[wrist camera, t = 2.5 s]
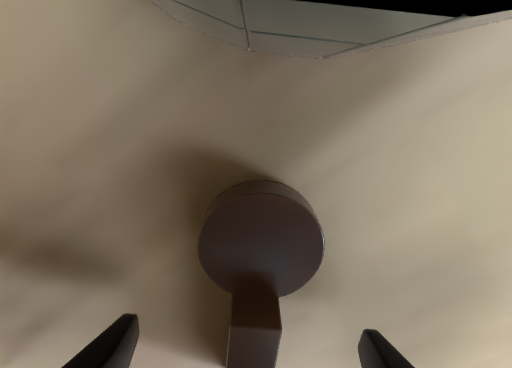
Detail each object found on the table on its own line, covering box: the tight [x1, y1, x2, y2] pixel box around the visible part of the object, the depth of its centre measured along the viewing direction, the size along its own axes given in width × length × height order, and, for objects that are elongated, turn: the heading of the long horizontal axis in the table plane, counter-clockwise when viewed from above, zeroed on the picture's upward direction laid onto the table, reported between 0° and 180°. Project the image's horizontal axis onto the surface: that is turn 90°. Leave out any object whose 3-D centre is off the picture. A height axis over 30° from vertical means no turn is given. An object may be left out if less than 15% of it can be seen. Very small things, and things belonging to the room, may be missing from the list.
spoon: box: [198, 181, 325, 368], centre depth 9 cm, size 9×4×2 cm, turn 174°
